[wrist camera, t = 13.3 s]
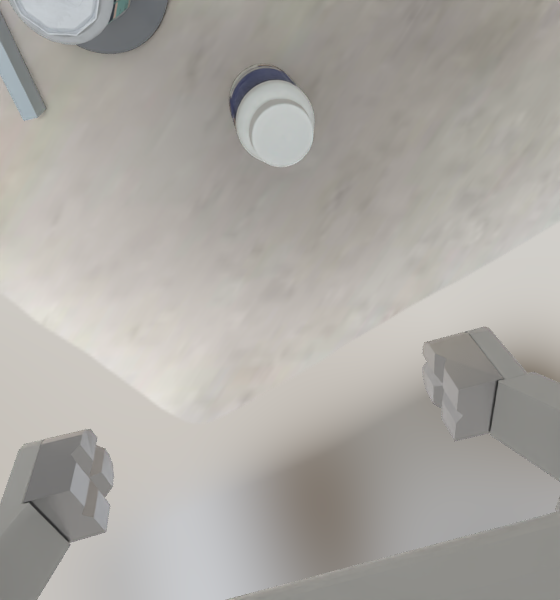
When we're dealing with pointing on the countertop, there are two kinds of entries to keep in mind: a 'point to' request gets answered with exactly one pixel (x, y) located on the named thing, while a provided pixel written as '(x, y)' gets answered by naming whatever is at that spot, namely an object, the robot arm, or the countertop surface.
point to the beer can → (69, 17)
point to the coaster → (129, 28)
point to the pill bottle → (271, 115)
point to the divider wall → (18, 76)
